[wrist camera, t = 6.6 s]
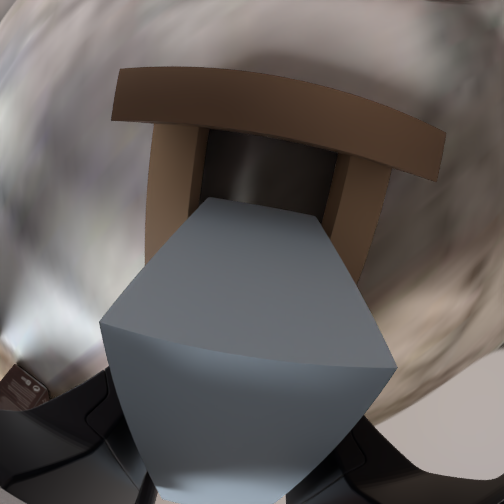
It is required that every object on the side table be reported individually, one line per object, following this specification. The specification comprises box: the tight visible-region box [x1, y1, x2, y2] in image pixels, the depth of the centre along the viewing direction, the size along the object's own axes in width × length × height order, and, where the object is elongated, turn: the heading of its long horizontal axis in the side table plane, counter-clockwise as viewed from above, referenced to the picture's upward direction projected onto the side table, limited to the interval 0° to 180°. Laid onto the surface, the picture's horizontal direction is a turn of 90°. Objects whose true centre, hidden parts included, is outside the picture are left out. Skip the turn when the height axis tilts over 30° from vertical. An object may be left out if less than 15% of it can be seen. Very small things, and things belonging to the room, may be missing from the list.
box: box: [0, 364, 50, 411], centre depth 11 cm, size 6×4×12 cm
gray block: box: [99, 197, 398, 504], centre depth 7 cm, size 8×3×6 cm, turn 170°
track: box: [111, 67, 446, 286], centre depth 9 cm, size 13×7×4 cm, turn 170°
